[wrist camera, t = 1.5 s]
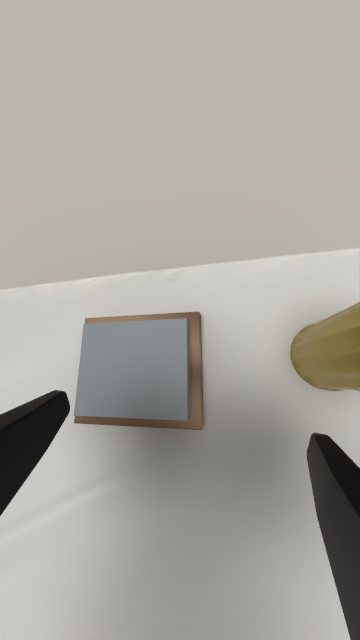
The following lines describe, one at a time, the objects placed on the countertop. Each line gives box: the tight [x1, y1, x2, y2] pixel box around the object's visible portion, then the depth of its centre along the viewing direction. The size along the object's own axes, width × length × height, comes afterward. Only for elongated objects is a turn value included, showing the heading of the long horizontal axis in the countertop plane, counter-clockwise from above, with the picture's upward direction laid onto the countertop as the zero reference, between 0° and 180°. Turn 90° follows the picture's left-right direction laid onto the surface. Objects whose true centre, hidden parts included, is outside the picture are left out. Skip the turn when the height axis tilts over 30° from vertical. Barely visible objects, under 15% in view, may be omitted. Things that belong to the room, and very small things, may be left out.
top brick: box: [74, 318, 190, 421], centre depth 22 cm, size 9×11×2 cm
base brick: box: [74, 312, 203, 430], centre depth 23 cm, size 11×13×2 cm
